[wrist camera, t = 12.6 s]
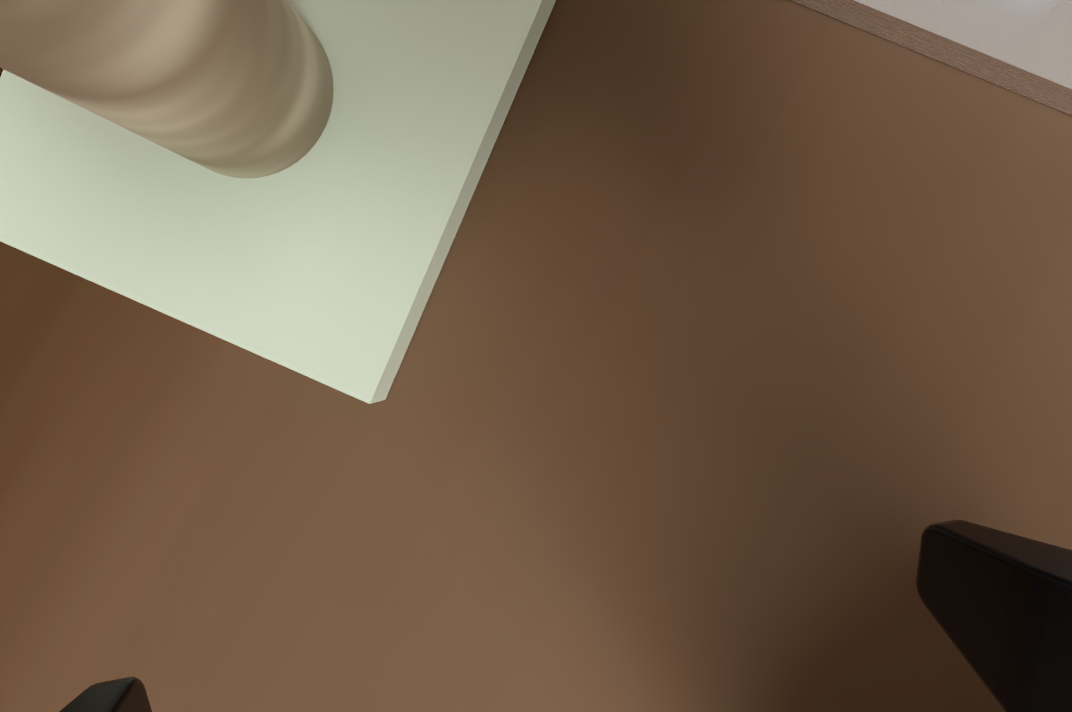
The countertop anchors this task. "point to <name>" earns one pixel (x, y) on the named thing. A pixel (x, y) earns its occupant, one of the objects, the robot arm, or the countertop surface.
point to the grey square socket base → (978, 38)
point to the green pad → (288, 191)
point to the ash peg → (182, 73)
